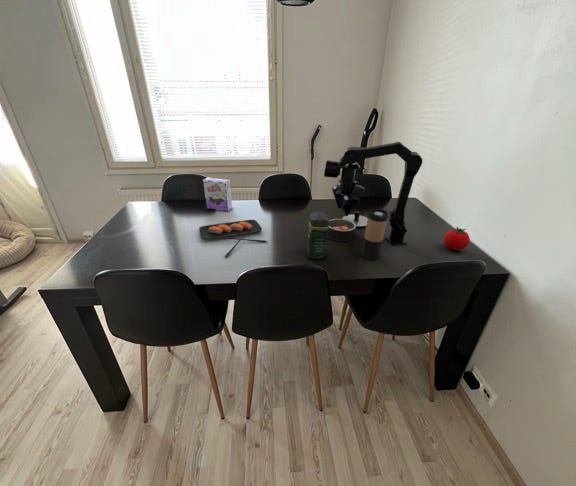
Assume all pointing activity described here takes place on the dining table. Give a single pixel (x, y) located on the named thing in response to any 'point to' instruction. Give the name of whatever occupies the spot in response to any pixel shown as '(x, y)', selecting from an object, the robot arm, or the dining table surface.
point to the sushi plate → (230, 230)
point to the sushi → (341, 228)
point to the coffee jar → (317, 235)
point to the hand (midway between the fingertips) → (342, 212)
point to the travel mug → (374, 233)
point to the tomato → (456, 239)
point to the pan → (341, 234)
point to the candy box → (217, 194)
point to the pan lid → (357, 219)
